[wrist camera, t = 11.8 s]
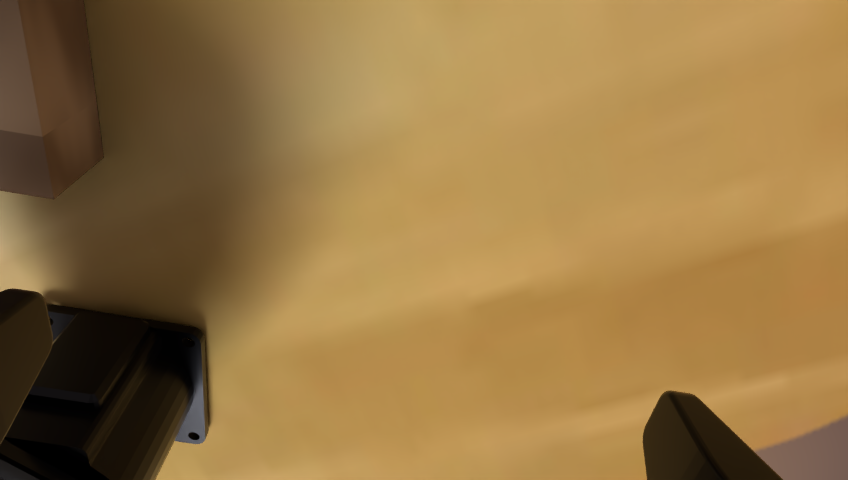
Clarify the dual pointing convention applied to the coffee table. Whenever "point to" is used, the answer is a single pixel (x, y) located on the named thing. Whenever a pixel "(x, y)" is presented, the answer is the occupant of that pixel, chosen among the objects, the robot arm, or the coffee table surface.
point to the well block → (46, 97)
